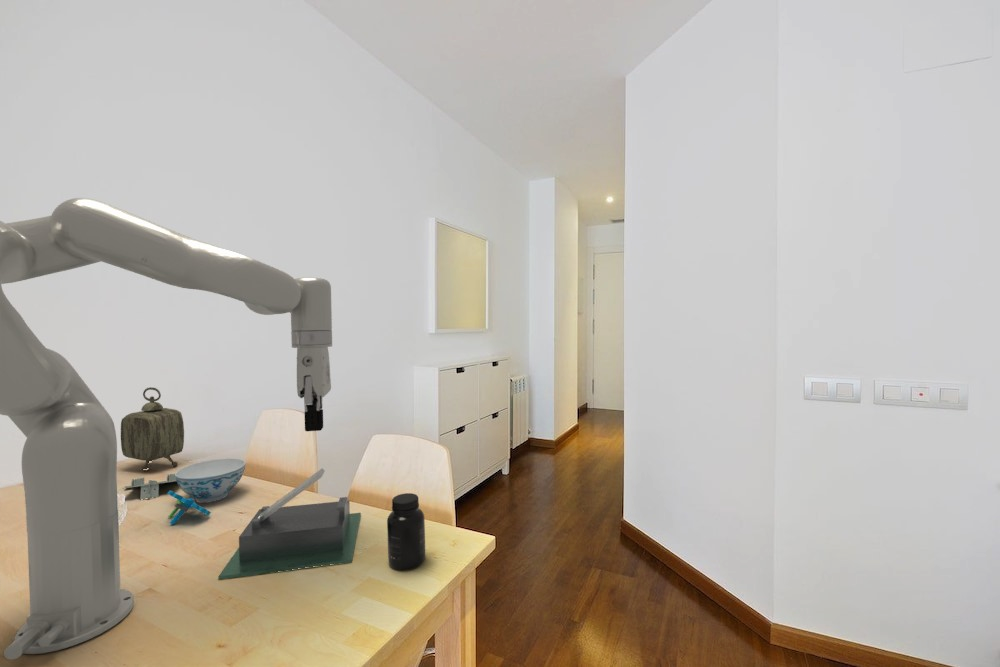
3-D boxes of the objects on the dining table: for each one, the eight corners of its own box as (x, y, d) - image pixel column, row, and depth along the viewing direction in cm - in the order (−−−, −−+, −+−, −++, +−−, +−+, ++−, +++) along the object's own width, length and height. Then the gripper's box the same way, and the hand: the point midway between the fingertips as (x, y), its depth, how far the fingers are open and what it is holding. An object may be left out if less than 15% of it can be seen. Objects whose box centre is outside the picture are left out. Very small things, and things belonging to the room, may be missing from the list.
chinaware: (204, 513, 100) (204, 481, 100) (160, 505, 105) (159, 474, 104) (259, 489, 114) (259, 461, 114) (218, 483, 119) (217, 455, 119)
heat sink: (351, 562, 79) (350, 522, 79) (218, 579, 74) (217, 537, 74) (360, 515, 99) (360, 483, 98) (255, 526, 94) (255, 492, 93)
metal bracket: (185, 472, 112) (110, 482, 105) (184, 495, 111) (109, 506, 104) (195, 470, 125) (129, 479, 118) (194, 491, 123) (128, 501, 117)
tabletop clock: (185, 465, 133) (182, 386, 133) (154, 476, 125) (152, 391, 124) (150, 461, 137) (148, 384, 137) (119, 471, 129) (116, 389, 128)
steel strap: (322, 477, 85) (318, 473, 85) (257, 525, 83) (254, 521, 83) (325, 471, 89) (322, 467, 89) (263, 517, 86) (260, 513, 86)
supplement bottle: (409, 547, 84) (409, 487, 84) (432, 559, 80) (432, 496, 80) (380, 562, 79) (379, 499, 79) (403, 576, 75) (402, 509, 74)
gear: (218, 512, 97) (178, 490, 92) (197, 538, 93) (154, 516, 89) (204, 505, 104) (166, 484, 99) (184, 529, 101) (144, 509, 96)
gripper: (325, 341, 80) (328, 438, 80) (337, 337, 94) (338, 420, 95) (282, 341, 78) (284, 441, 78) (300, 338, 92) (302, 422, 93)
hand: (314, 429), depth 87 cm, fingers closed
